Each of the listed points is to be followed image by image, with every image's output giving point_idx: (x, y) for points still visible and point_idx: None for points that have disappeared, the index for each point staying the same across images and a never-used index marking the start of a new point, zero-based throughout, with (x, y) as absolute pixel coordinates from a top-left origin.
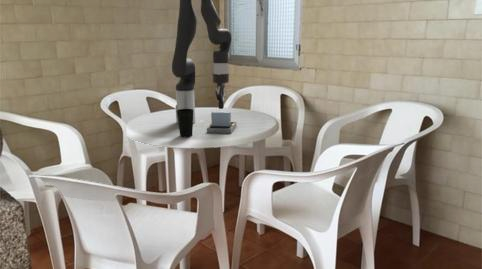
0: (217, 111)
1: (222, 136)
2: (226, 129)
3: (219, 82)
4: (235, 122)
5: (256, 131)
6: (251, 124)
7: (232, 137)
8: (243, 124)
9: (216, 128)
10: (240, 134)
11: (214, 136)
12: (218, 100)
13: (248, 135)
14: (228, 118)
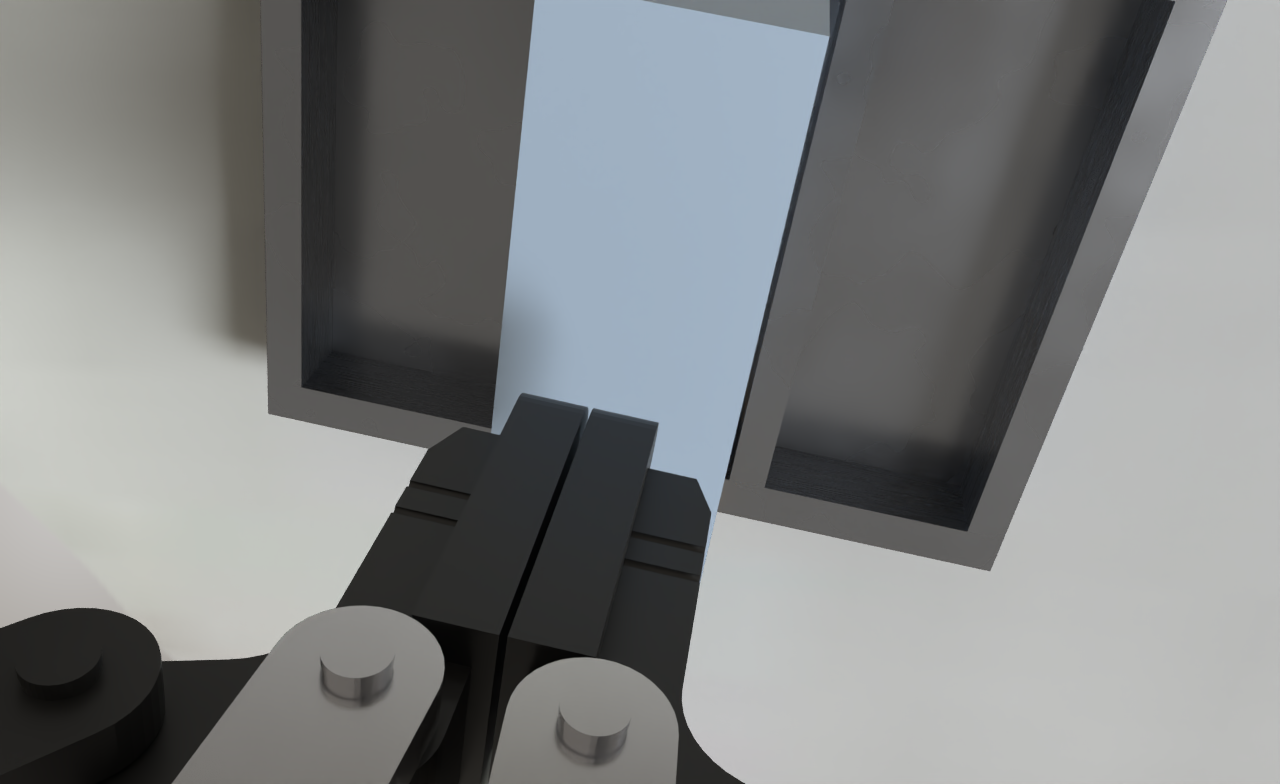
0: (723, 256)
1: (49, 187)
2: (273, 314)
3: None
4: (943, 547)
5: None
6: (1096, 773)
7: (24, 374)
8: (1142, 648)
9: (266, 76)
10: (266, 519)
11: (5, 5)
12: (291, 648)
13: (217, 626)
14: None
